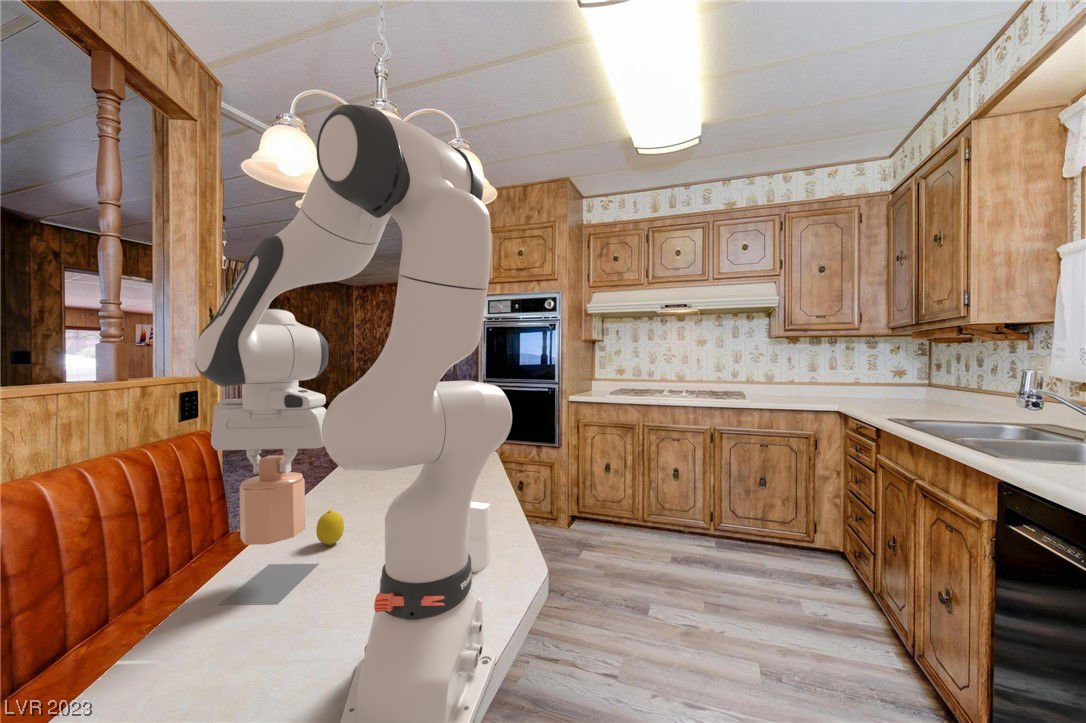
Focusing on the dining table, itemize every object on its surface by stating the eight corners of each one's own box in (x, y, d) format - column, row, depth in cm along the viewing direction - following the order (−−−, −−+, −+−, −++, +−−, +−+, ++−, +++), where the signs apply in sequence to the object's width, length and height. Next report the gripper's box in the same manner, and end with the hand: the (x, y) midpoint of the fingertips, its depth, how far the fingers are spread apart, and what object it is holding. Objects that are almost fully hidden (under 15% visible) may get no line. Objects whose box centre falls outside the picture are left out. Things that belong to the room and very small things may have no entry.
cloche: (284, 544, 74) (283, 463, 74) (228, 545, 74) (227, 464, 74) (313, 523, 84) (312, 451, 84) (264, 524, 84) (262, 452, 84)
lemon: (333, 552, 92) (332, 515, 92) (310, 550, 93) (310, 513, 93) (349, 541, 98) (349, 506, 97) (328, 539, 99) (327, 505, 99)
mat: (277, 606, 72) (277, 604, 72) (217, 607, 72) (217, 604, 72) (319, 565, 86) (319, 563, 86) (269, 566, 86) (269, 564, 86)
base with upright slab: (496, 555, 91) (496, 499, 91) (479, 576, 82) (479, 514, 82) (458, 549, 94) (458, 495, 93) (437, 569, 85) (437, 509, 85)
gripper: (201, 400, 76) (202, 478, 76) (317, 398, 76) (318, 476, 76) (226, 397, 82) (228, 469, 82) (334, 395, 82) (335, 467, 82)
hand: (272, 472), depth 79 cm, fingers closed on cloche, 3 cm apart
